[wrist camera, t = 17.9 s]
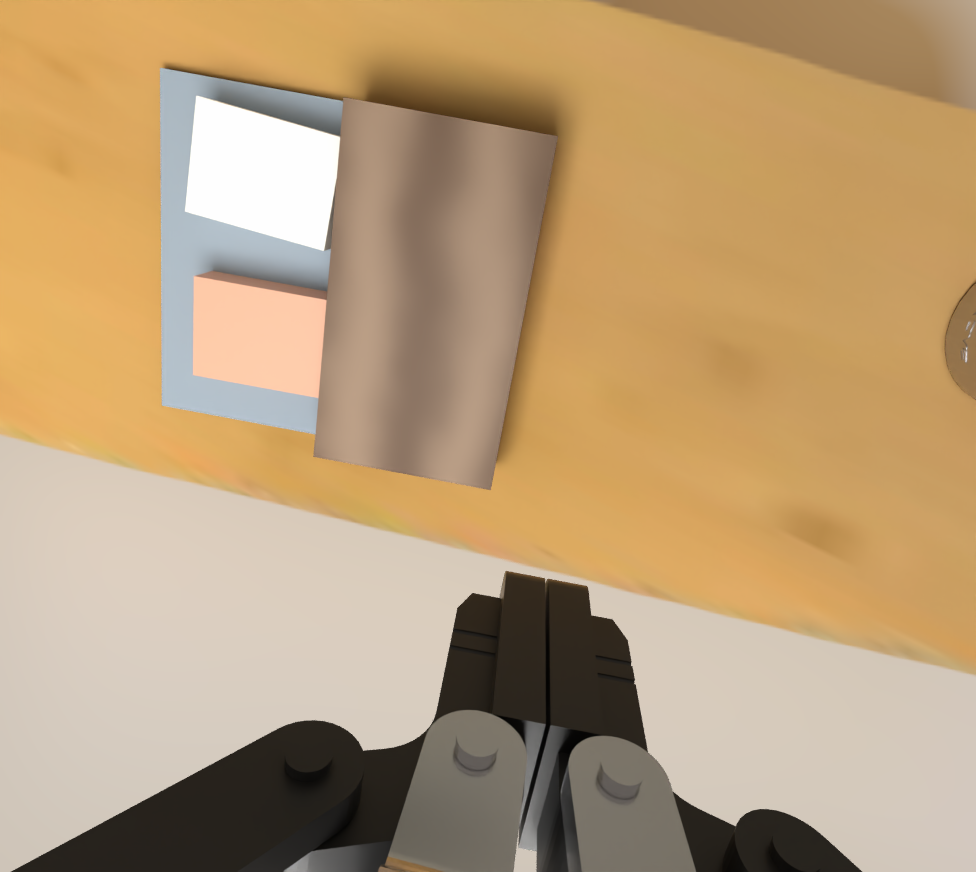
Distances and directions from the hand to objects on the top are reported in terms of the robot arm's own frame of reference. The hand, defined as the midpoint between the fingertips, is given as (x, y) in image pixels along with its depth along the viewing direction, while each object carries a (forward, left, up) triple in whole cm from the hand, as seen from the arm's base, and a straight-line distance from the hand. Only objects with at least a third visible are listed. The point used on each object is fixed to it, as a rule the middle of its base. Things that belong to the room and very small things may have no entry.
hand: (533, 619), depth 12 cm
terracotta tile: (+16, +4, -30) cm, 35 cm away
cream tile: (+16, -5, -30) cm, 35 cm away
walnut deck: (+6, 0, -31) cm, 32 cm away
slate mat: (+18, 0, -31) cm, 36 cm away
